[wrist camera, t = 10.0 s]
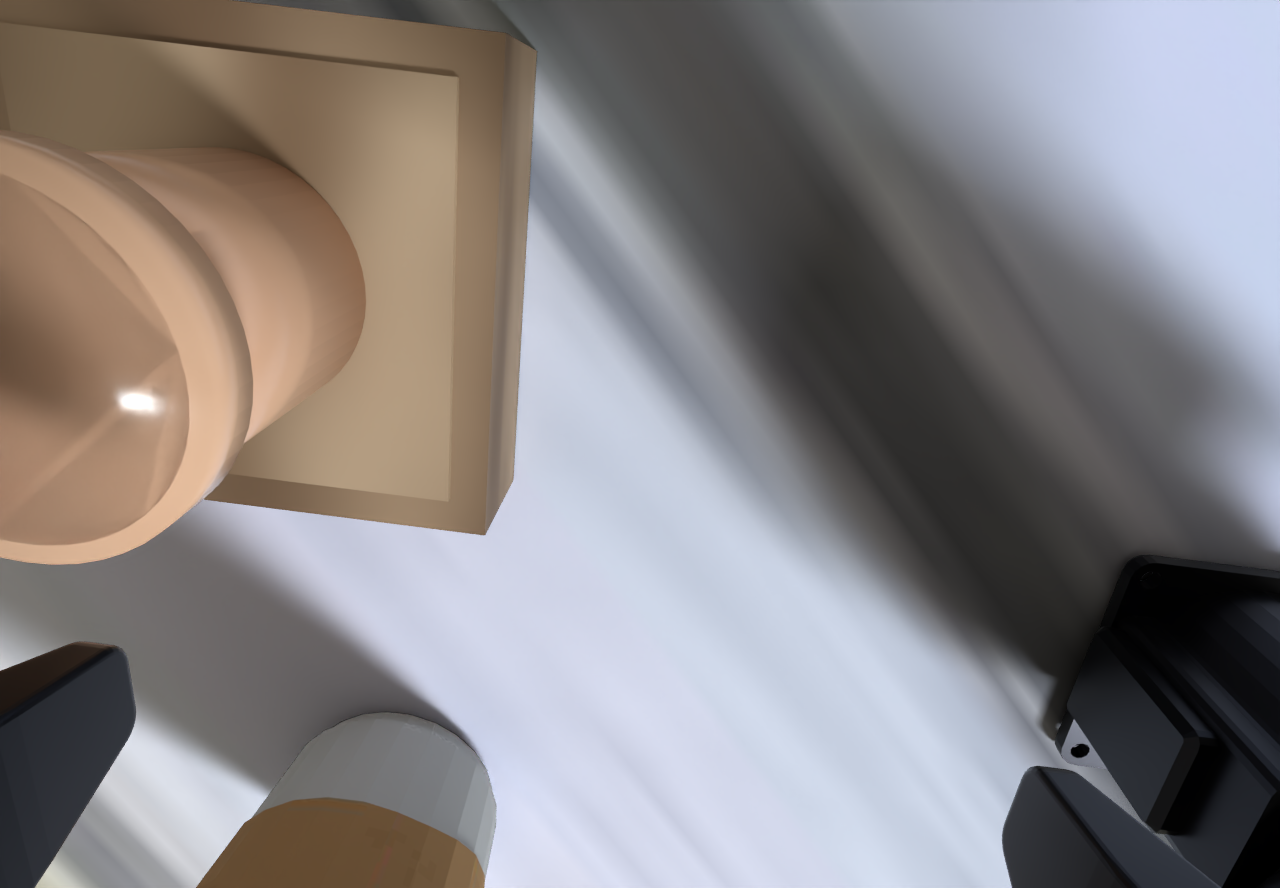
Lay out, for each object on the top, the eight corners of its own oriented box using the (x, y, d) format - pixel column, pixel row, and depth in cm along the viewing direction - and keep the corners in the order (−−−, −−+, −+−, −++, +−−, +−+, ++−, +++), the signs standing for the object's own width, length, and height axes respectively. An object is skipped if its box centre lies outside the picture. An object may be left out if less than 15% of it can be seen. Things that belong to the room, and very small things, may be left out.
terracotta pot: (383, 154, 14) (196, 169, 9) (379, 434, 16) (226, 591, 11) (78, 107, 14) (-309, 92, 9) (114, 394, 16) (-178, 532, 11)
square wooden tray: (536, 51, 16) (503, 31, 13) (513, 480, 20) (483, 538, 17) (71, -5, 16) (-64, -36, 13) (133, 432, 20) (38, 482, 17)
